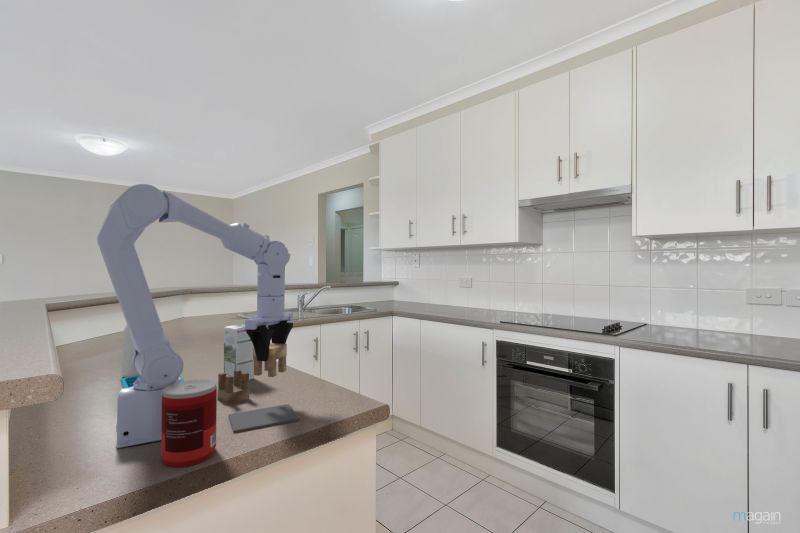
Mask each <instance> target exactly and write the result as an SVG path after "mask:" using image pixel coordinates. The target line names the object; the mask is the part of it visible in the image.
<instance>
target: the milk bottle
mask: <svg viewBox="0 0 800 533" xmlns="http://www.w3.org/2000/svg"><path fill="white" fill-rule="evenodd" d="M121 340H122V343H121V348H122V349H121V376H122V378H125V377H132V376H138V375H140V374H138V373H137V372H136V370H135V369H134V366H133V360H134V355H135V351H134V347H133V344H132V337H131V334H130V331H129V328H128V326H127V323H126V325H125V326H124V329H123V332H122V338H121Z"/></svg>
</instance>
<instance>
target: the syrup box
mask: <svg viewBox="0 0 800 533" xmlns="http://www.w3.org/2000/svg"><path fill="white" fill-rule="evenodd" d="M253 347H254V346H253V343H252V341H251V339H250V337H249V336H248V334H247V333H246V329H245V324H232V325H228V326H224V327H223V373H226V376H234V370H241V373H245V372H247V373H249V381H250V380H253V379H255V375H254V359H253ZM233 383H234V378H233Z"/></svg>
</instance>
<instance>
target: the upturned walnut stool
mask: <svg viewBox="0 0 800 533" xmlns="http://www.w3.org/2000/svg"><path fill="white" fill-rule="evenodd" d="M217 378H218V379H217V380H218V381H217V382H218V383H217V386H218V387H217V401H219V402H222V403H223V404H225V405H231V404H236V403H239V402H243V401H248V400H249V399H250V380H249V373H247V372H245V373H241V370H234V376H226V373H224V372H221V373H218V377H217ZM233 378H234V382H233Z"/></svg>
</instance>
